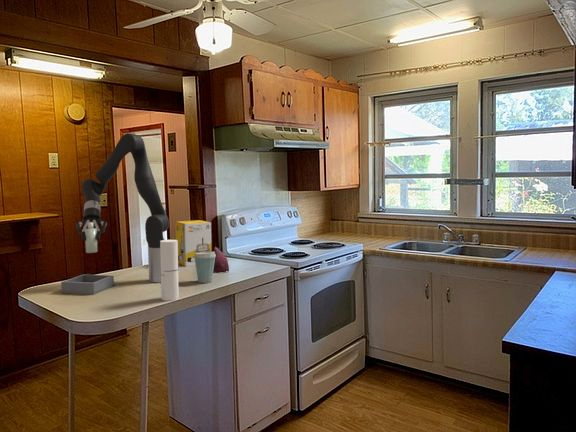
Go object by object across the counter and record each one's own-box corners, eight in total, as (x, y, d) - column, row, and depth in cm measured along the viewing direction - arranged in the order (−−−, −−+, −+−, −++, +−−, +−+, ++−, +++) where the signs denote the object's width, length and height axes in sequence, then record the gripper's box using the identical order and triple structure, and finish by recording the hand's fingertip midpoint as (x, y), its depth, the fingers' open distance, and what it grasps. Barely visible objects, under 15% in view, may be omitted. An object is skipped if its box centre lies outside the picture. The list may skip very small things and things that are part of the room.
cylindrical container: (174, 301, 189) (172, 242, 187) (158, 300, 190) (157, 241, 188) (181, 296, 196) (180, 239, 194) (166, 295, 197) (165, 239, 195)
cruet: (99, 251, 213) (98, 221, 212) (93, 253, 208) (91, 223, 207) (90, 250, 214) (89, 221, 213) (83, 252, 209) (82, 222, 208)
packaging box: (185, 266, 261) (184, 223, 259) (176, 262, 274) (175, 221, 272) (211, 263, 270) (211, 222, 267) (201, 259, 283) (200, 220, 281)
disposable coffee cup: (190, 283, 220) (189, 253, 219) (201, 278, 231) (201, 249, 229) (209, 285, 217) (208, 254, 215) (219, 280, 227) (219, 250, 226)
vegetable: (208, 277, 247) (200, 251, 245) (218, 271, 256) (210, 246, 255) (224, 274, 243) (216, 248, 241) (233, 268, 252) (225, 243, 250)
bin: (113, 285, 215) (113, 275, 214) (94, 294, 199) (93, 283, 199) (83, 284, 218) (83, 274, 217) (61, 292, 202) (61, 281, 201)
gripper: (75, 207, 214) (72, 235, 204) (107, 206, 219) (106, 233, 208) (76, 217, 220) (74, 245, 209) (108, 216, 224) (107, 243, 214)
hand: (90, 239), depth 209 cm, fingers closed on cruet, 5 cm apart
